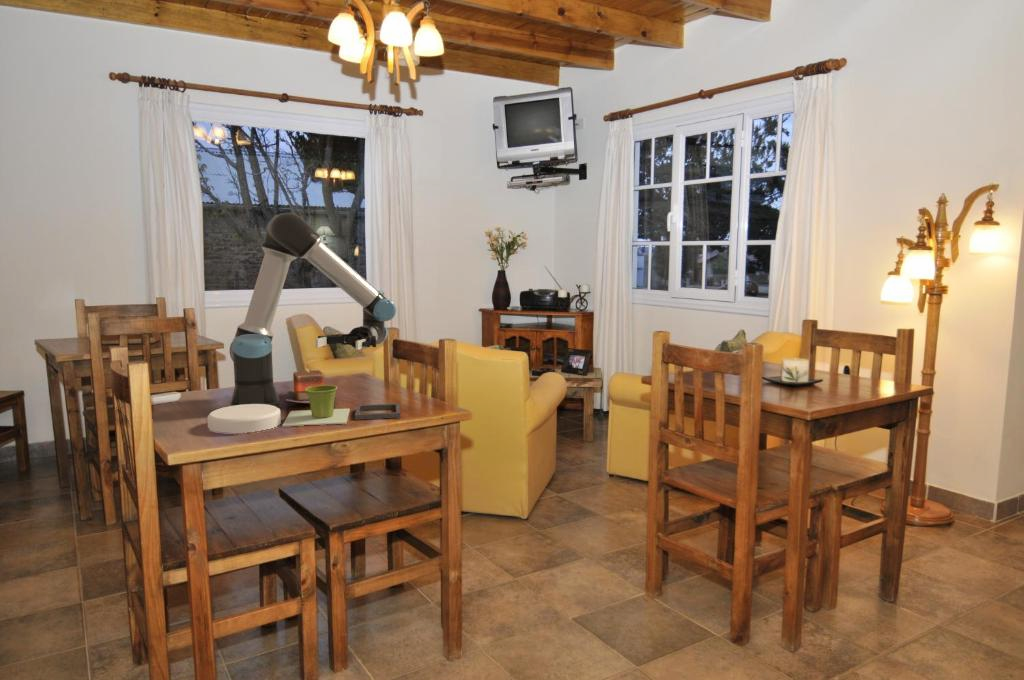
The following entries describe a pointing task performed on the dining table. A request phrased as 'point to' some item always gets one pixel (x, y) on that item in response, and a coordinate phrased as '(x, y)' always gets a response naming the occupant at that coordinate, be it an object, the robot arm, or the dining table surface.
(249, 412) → the container
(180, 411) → the dining table surface
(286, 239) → the robot arm
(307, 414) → the sage mat
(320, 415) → the plant pot
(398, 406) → the pot collar
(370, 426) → the dining table surface
